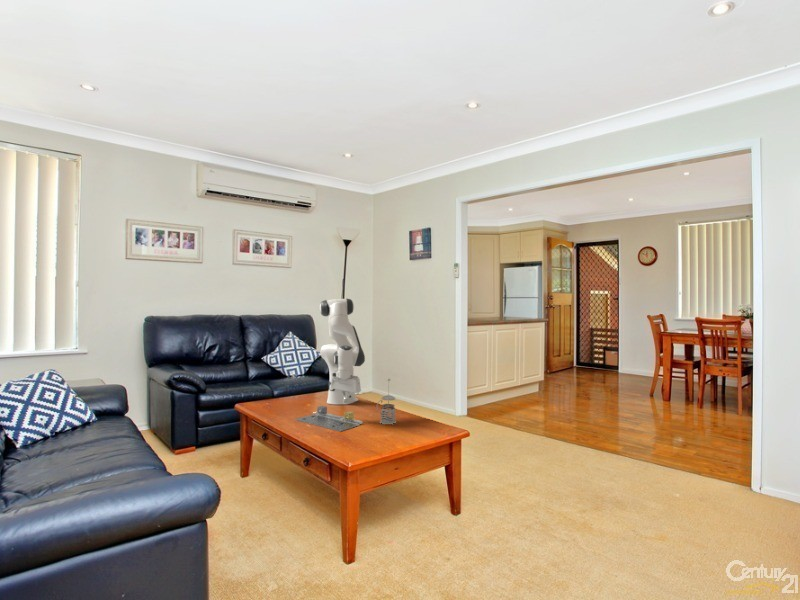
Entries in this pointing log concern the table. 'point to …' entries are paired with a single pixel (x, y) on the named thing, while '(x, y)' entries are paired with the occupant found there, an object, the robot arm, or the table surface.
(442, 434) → the table surface
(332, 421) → the flange plate
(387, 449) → the table surface
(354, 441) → the table surface
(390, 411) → the french press
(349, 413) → the sliding head
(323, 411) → the trammel beam
